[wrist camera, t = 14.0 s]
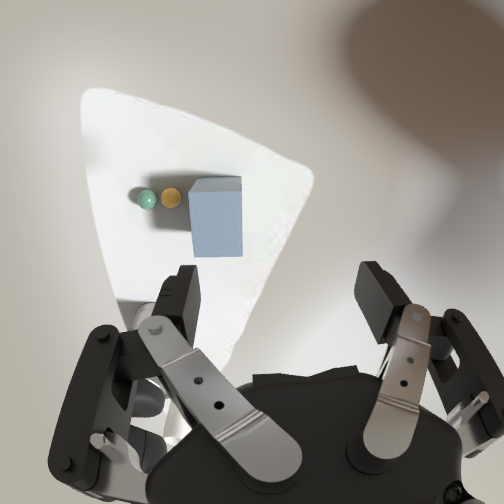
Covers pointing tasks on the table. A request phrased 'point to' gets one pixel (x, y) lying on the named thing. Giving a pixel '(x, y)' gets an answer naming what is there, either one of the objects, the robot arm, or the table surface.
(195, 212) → the blue-grey block
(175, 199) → the amber marble
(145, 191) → the green marble
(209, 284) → the table surface
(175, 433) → the drinking glass
